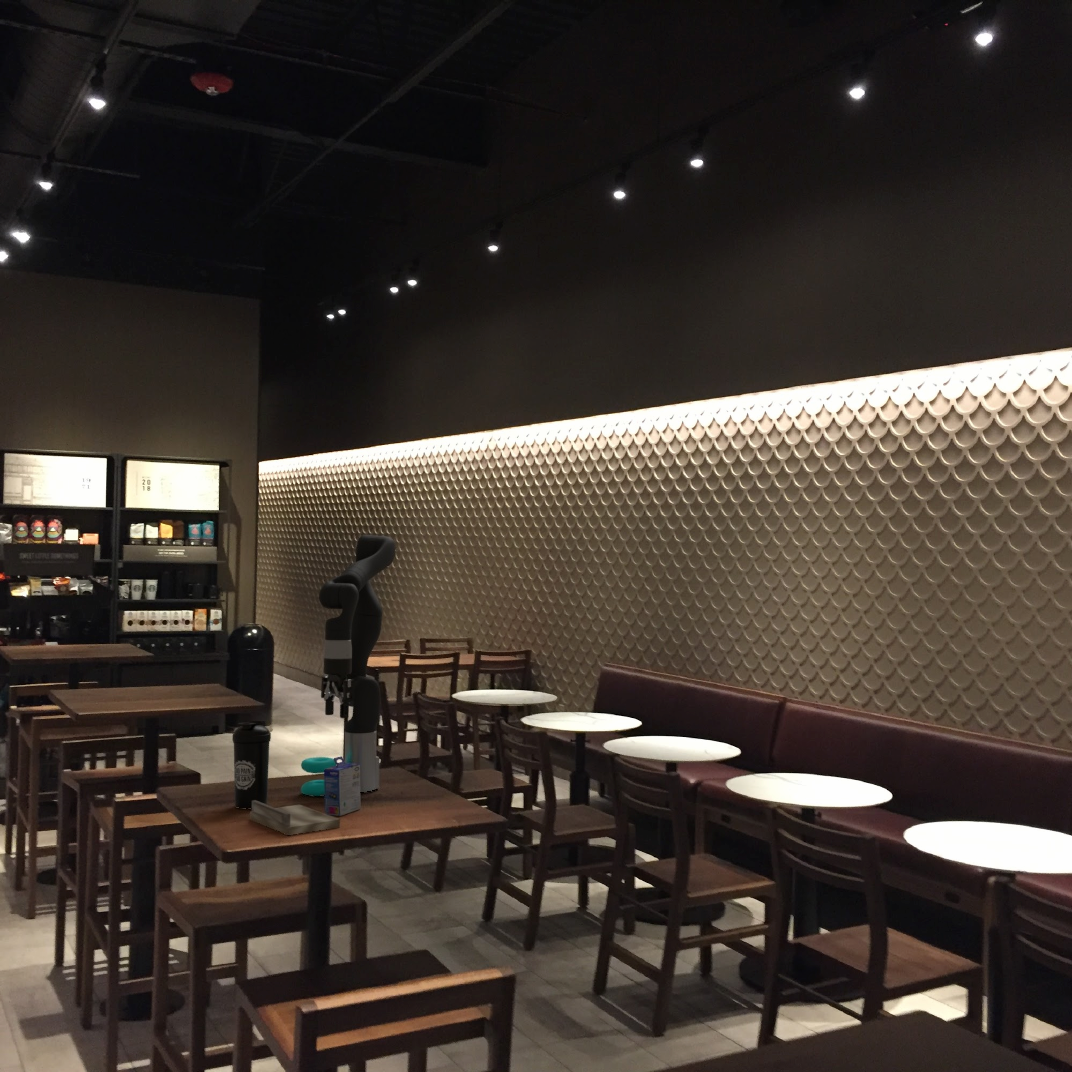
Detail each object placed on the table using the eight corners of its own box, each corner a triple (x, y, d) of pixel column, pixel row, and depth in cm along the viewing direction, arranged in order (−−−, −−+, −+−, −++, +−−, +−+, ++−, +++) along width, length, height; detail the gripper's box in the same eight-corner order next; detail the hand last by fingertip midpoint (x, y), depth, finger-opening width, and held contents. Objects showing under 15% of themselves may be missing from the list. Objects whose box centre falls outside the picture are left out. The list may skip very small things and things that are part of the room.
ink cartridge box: (344, 807, 291) (344, 753, 292) (361, 809, 289) (361, 755, 290) (322, 814, 282) (323, 759, 283) (340, 816, 280) (340, 761, 281)
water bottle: (224, 808, 289) (225, 723, 290) (245, 801, 299) (245, 718, 300) (257, 811, 286) (258, 724, 287) (277, 803, 296) (278, 719, 297)
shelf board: (299, 812, 286) (299, 793, 286) (339, 827, 268) (339, 807, 269) (248, 819, 277) (249, 800, 277) (287, 836, 259) (287, 815, 260)
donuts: (340, 760, 307) (305, 763, 303) (339, 795, 307) (305, 798, 302) (331, 755, 316) (297, 757, 312) (331, 789, 316) (297, 792, 311)
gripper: (362, 657, 288) (361, 718, 287) (337, 654, 299) (336, 713, 299) (337, 658, 283) (336, 720, 283) (313, 655, 295) (312, 714, 294)
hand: (336, 716), depth 291 cm, fingers open, 8 cm apart
